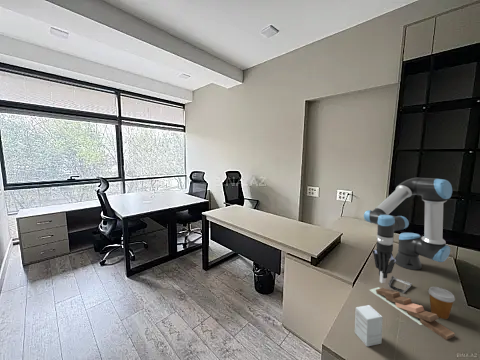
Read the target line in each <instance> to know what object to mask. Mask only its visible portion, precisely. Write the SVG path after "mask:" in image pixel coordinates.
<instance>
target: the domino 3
mask: <svg viewBox="0 0 480 360" xmlns="http://www.w3.org/2000/svg"><path fill="white" fill-rule="evenodd" d="M396 307H399V308H402V309H405V310H408V311H411V312H414V313H419V312H422V311H425V308H424V306H423V305H421V304H420V305H419V304H416V303H413V302H412V303H410V304H407V305H402V304H399V303H396Z"/></svg>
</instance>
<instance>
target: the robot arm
mask: <svg viewBox="0 0 480 360" xmlns="http://www.w3.org/2000/svg"><path fill="white" fill-rule="evenodd" d="M452 186H453V185H452V184H451V182H450V181H449V180H447V179H442V178H433V177H432V178H431V177H412V178H409V179H406V180H404V181H402V182H401V183H399V184H397V186H396V187H395V190H394V191H393V192H392V193H391V194H389V195H388V197H386V198H385V199H384V200H383V201H382V202H380V204H378V205H377V206H376V207H375V208H374V209H372V210H371V209H370V210H369V209H368V210H366V211H365V212H364V213H363V219H364V221H366V222H368V223H370V224H375V225H377V229H376V230H377V232H376V249H374V250H372V254H373V259H374V264H375V268H376V269H378V276H379V283H380V284H386V282H387V278H388V274H391V273H392V272H393V269H394V267H395V265H397V266H399V267H402V268H404V269H407V270H413V271H417V270H418V271H419V270H421V269H422V266H423V265H422V262H421V259H420V256H421V257H424V258H426V259H429V260H431V261H435V262H438V263H444V262H446V260H447V259H448V257H450V253H451V247H450V246H449V245H446V244H447V242H446V240H445V239H444V238H443V234H444V233H443V229H444V228H443V227H444V203H446V202H447V201H448V200H449V199H450V198H451V197H452V194H453V187H452ZM412 196H420V197H421V201H423V202H424V231H423V232H424V234H423V235H424V236H423V235H422V236H421V235H420V234H419V233H414V232H401V233H400V234H399V235H398V248H397V251H398V252H396V256H395V257H394V256H393V255H394V254H393V251H394V237H395V232H397V231H402V230H404V229H405V230H406V229H407V228H408V227H409V225H410V223H409V220H408V219H407V217H405V216H402V215H397V216H395V215H391V213H392V212H393V211H394V210H395V209H396V208H398V206H399V205H400V204H402V202H404V201H405V200H406V199H407V198H410V197H412Z"/></svg>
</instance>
